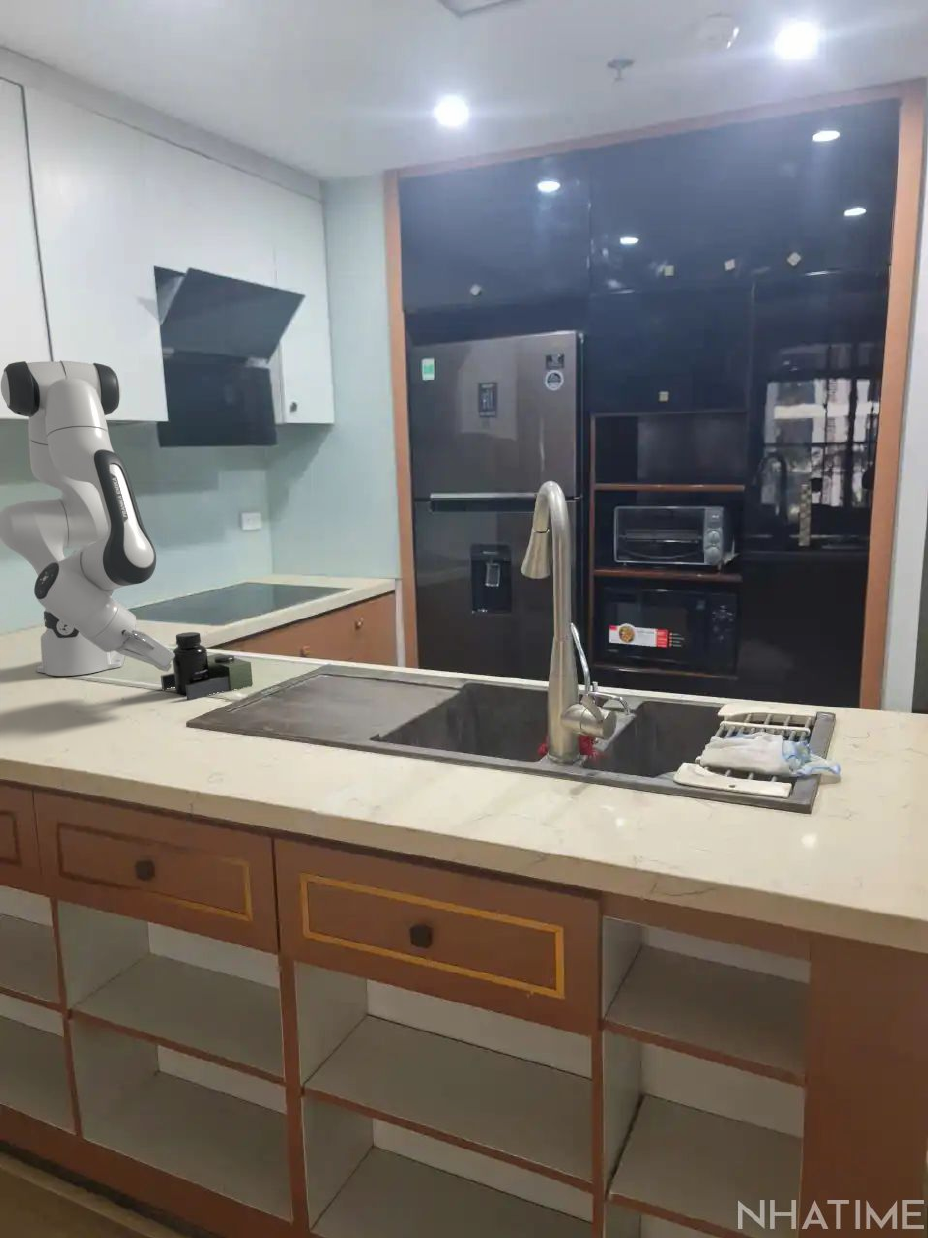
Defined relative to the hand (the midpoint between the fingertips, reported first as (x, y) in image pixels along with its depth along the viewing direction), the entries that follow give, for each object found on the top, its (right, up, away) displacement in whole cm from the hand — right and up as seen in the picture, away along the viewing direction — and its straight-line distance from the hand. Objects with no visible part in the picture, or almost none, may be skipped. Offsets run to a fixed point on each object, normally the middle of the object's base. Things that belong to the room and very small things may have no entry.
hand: (166, 667), depth 177 cm
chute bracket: (+6, -4, +7) cm, 10 cm away
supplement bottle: (+4, -5, +4) cm, 8 cm away
